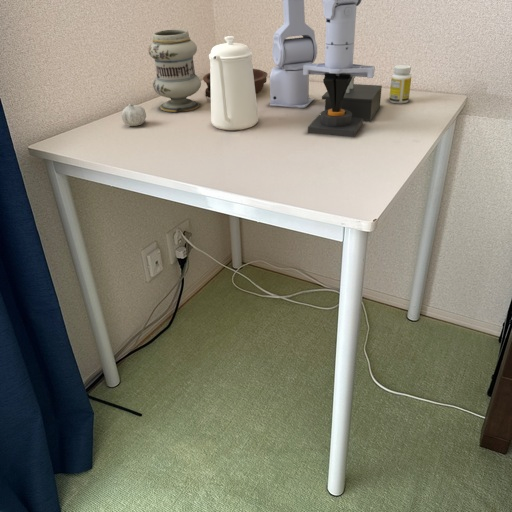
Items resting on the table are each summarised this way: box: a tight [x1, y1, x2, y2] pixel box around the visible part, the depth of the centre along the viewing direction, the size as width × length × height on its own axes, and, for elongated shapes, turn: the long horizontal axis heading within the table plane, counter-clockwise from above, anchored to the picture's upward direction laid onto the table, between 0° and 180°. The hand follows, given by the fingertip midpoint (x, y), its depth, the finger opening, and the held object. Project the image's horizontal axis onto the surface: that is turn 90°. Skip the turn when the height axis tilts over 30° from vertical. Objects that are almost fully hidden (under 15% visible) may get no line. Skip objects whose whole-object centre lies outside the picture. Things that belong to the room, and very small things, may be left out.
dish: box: [202, 68, 268, 99], centre depth 135 cm, size 18×22×5 cm
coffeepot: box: [208, 35, 259, 131], centre depth 108 cm, size 11×25×19 cm, turn 168°
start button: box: [328, 109, 345, 116], centre depth 106 cm, size 4×4×2 cm
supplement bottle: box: [388, 64, 412, 105], centre depth 121 cm, size 5×5×8 cm
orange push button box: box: [307, 109, 364, 138], centre depth 106 cm, size 10×9×4 cm
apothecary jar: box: [148, 28, 202, 113], centre depth 122 cm, size 12×12×18 cm
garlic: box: [121, 102, 147, 127], centre depth 114 cm, size 6×5×5 cm
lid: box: [321, 76, 383, 103], centre depth 114 cm, size 11×13×4 cm
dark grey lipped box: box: [324, 88, 383, 123], centre depth 116 cm, size 11×13×4 cm
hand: (336, 110), depth 105 cm, fingers closed, pressing on start button
